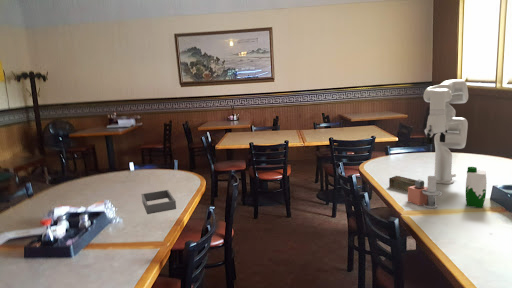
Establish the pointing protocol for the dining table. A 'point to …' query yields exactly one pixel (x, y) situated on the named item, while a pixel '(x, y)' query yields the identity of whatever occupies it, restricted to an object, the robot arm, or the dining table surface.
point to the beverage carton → (401, 182)
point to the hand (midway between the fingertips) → (436, 143)
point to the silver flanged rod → (431, 192)
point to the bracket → (417, 195)
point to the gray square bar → (419, 184)
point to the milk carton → (475, 187)
